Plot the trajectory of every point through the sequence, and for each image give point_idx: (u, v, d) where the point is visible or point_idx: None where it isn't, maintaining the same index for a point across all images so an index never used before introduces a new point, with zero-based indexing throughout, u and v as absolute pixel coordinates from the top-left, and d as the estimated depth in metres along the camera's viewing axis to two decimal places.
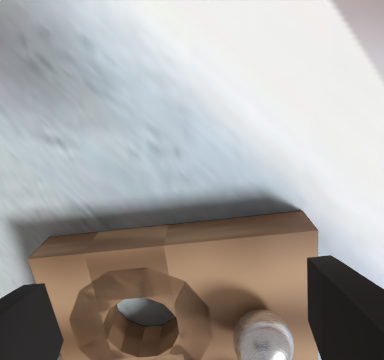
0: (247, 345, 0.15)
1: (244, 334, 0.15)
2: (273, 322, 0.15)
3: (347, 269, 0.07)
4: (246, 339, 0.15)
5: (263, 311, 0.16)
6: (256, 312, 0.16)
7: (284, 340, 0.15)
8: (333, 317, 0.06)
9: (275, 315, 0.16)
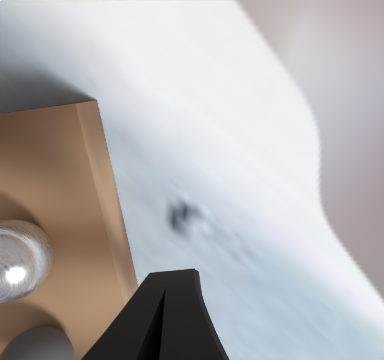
0: None
1: None
2: (7, 227, 0.11)
3: (191, 284, 0.07)
4: None
5: (11, 219, 0.12)
6: (1, 220, 0.12)
7: (12, 249, 0.11)
8: None
9: (24, 223, 0.12)
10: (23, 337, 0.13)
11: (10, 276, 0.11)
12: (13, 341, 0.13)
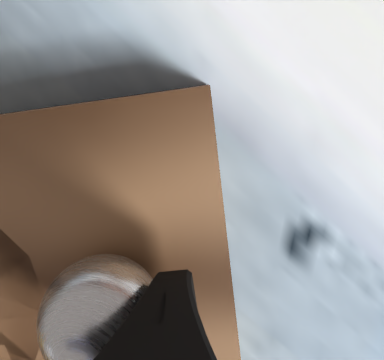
0: (42, 315, 0.07)
1: (47, 294, 0.07)
2: (108, 271, 0.07)
3: (183, 284, 0.07)
4: (44, 303, 0.07)
5: (106, 255, 0.08)
6: (93, 255, 0.08)
7: (119, 308, 0.07)
8: None
9: (126, 262, 0.08)
10: None
11: None
12: None
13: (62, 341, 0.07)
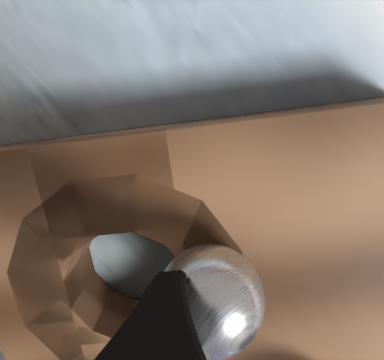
0: None
1: None
2: (202, 258, 0.08)
3: (176, 285, 0.07)
4: None
5: (230, 274, 0.08)
6: (238, 269, 0.08)
7: (175, 264, 0.09)
8: None
9: (207, 280, 0.08)
10: None
11: None
12: None
13: None
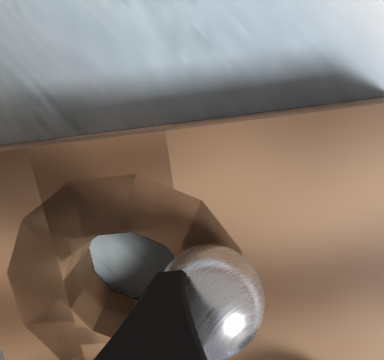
0: None
1: None
2: (202, 258, 0.08)
3: (177, 285, 0.07)
4: None
5: (229, 274, 0.08)
6: (238, 269, 0.08)
7: (174, 263, 0.09)
8: None
9: (206, 280, 0.08)
10: None
11: None
12: None
13: None
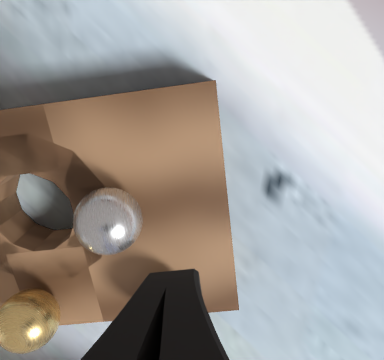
0: None
1: None
2: (94, 199, 0.13)
3: (191, 283, 0.07)
4: None
5: (113, 192, 0.14)
6: (112, 189, 0.14)
7: (82, 217, 0.13)
8: None
9: (109, 202, 0.13)
10: None
11: (77, 235, 0.13)
12: None
13: None
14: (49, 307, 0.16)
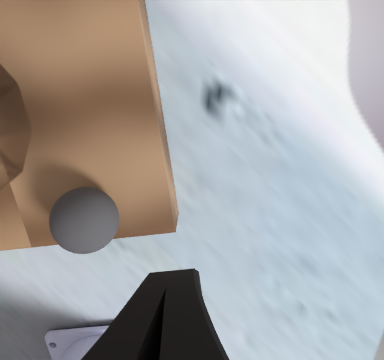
0: None
1: None
2: None
3: (191, 284, 0.07)
4: None
5: None
6: None
7: None
8: None
9: None
10: (74, 189, 0.14)
11: None
12: (65, 193, 0.14)
13: None
14: None
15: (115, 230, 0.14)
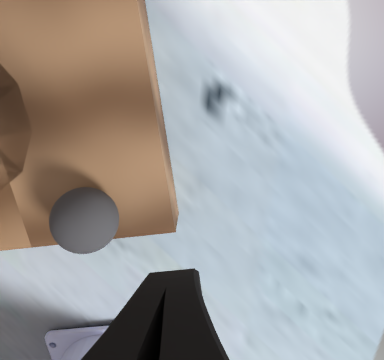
0: None
1: None
2: None
3: (191, 284, 0.07)
4: None
5: None
6: None
7: None
8: None
9: None
10: (74, 189, 0.14)
11: None
12: (65, 193, 0.14)
13: None
14: None
15: (115, 230, 0.14)
